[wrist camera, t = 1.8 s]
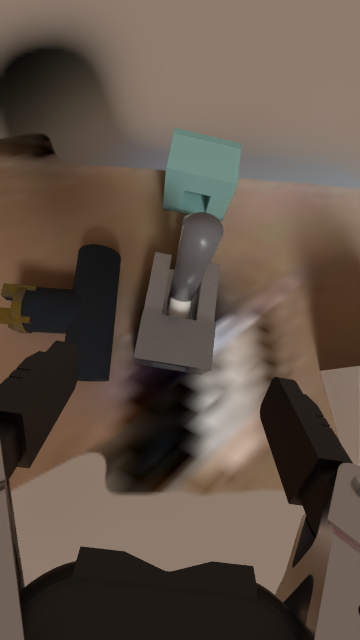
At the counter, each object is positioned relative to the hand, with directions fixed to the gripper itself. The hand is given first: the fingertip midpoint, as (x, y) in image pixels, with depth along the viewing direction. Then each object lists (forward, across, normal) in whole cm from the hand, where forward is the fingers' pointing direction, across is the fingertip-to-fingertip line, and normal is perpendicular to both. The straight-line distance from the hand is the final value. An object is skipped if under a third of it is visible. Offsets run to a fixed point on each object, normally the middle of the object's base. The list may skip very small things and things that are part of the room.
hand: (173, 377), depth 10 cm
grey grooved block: (+21, -1, +8) cm, 22 cm away
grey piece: (+23, -1, +4) cm, 24 cm away
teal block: (+35, -1, -6) cm, 35 cm away
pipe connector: (+20, +12, +10) cm, 25 cm away
